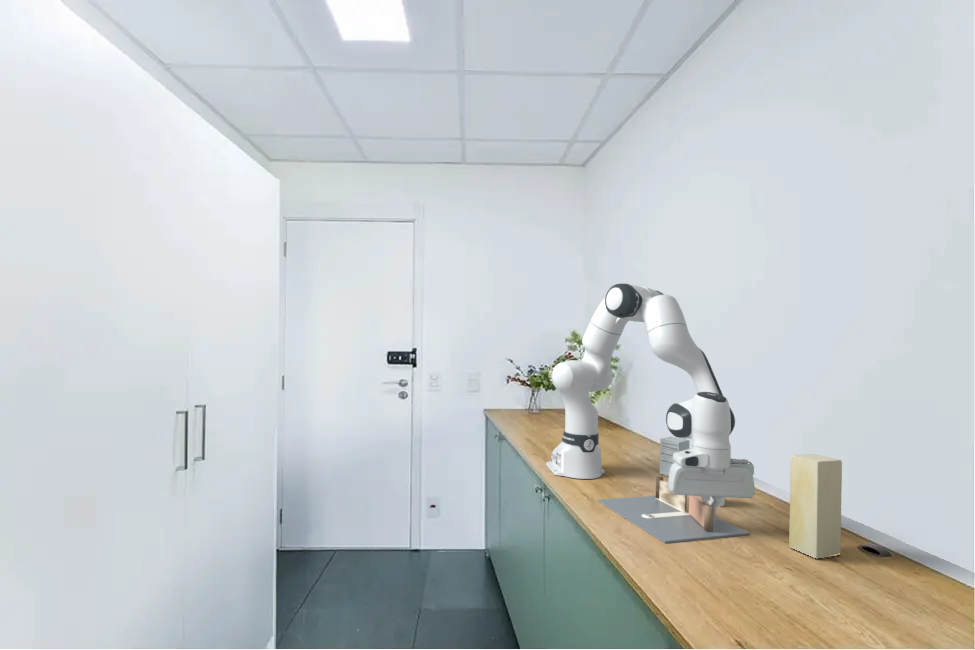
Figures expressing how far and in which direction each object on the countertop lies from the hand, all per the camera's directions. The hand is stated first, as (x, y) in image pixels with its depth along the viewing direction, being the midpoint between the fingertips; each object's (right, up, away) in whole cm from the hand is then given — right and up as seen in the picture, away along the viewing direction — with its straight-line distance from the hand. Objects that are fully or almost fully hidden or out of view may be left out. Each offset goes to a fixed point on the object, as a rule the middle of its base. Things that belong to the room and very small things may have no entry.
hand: (710, 513), depth 125 cm
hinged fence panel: (-2, -3, +3) cm, 4 cm away
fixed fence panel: (-4, -3, +16) cm, 17 cm away
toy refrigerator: (+17, -4, -12) cm, 22 cm away
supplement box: (+9, -6, +50) cm, 51 cm away
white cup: (+10, -5, +20) cm, 22 cm away
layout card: (-8, -3, +7) cm, 11 cm away
